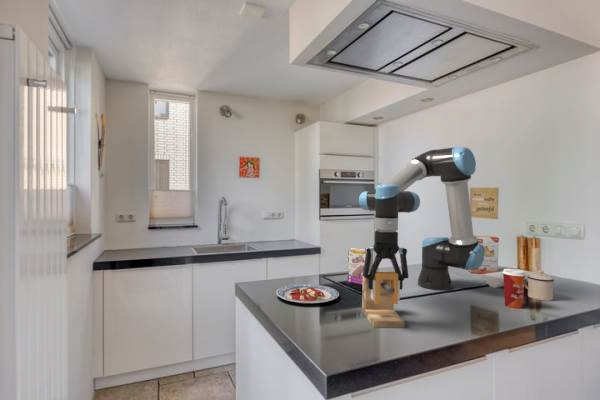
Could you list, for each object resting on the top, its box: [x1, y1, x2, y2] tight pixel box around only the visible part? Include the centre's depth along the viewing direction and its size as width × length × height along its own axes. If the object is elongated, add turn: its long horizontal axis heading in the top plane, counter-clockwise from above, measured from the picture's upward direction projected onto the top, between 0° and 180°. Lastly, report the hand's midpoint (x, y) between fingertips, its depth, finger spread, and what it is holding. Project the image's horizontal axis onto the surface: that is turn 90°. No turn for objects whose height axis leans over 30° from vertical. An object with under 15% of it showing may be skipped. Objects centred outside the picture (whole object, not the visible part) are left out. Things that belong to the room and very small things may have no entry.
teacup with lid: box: [524, 269, 555, 302], centre depth 141 cm, size 12×9×12 cm
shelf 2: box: [481, 269, 536, 289], centre depth 162 cm, size 12×30×5 cm, turn 117°
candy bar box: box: [347, 247, 374, 286], centre depth 159 cm, size 11×5×16 cm, turn 58°
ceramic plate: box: [276, 283, 340, 305], centre depth 136 cm, size 26×26×3 cm
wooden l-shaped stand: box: [361, 274, 406, 329], centre depth 112 cm, size 17×10×14 cm, turn 3°
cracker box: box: [467, 235, 500, 275], centre depth 186 cm, size 14×6×21 cm, turn 81°
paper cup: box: [501, 268, 526, 310], centre depth 128 cm, size 8×8×14 cm
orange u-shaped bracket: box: [373, 271, 399, 305], centre depth 110 cm, size 3×8×10 cm, turn 93°
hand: (384, 298), depth 110 cm, fingers closed on orange u-shaped bracket, 7 cm apart
